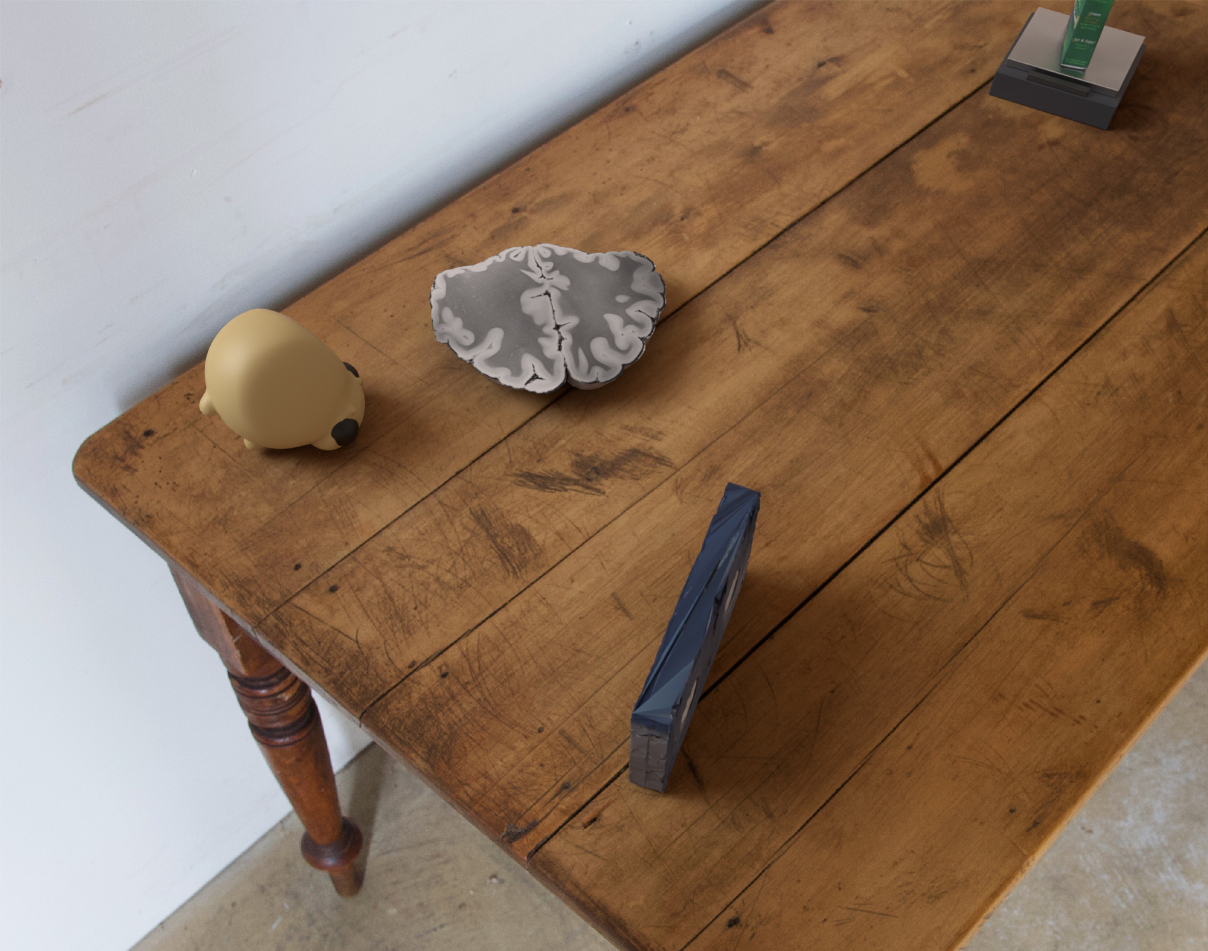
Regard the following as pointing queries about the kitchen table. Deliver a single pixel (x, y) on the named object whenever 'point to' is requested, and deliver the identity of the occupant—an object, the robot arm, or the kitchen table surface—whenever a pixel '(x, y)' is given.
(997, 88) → the scale
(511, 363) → the brain slice
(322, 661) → the kitchen table surface
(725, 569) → the vhs cassette tape
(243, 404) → the toy pig
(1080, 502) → the kitchen table surface
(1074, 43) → the coffee box
